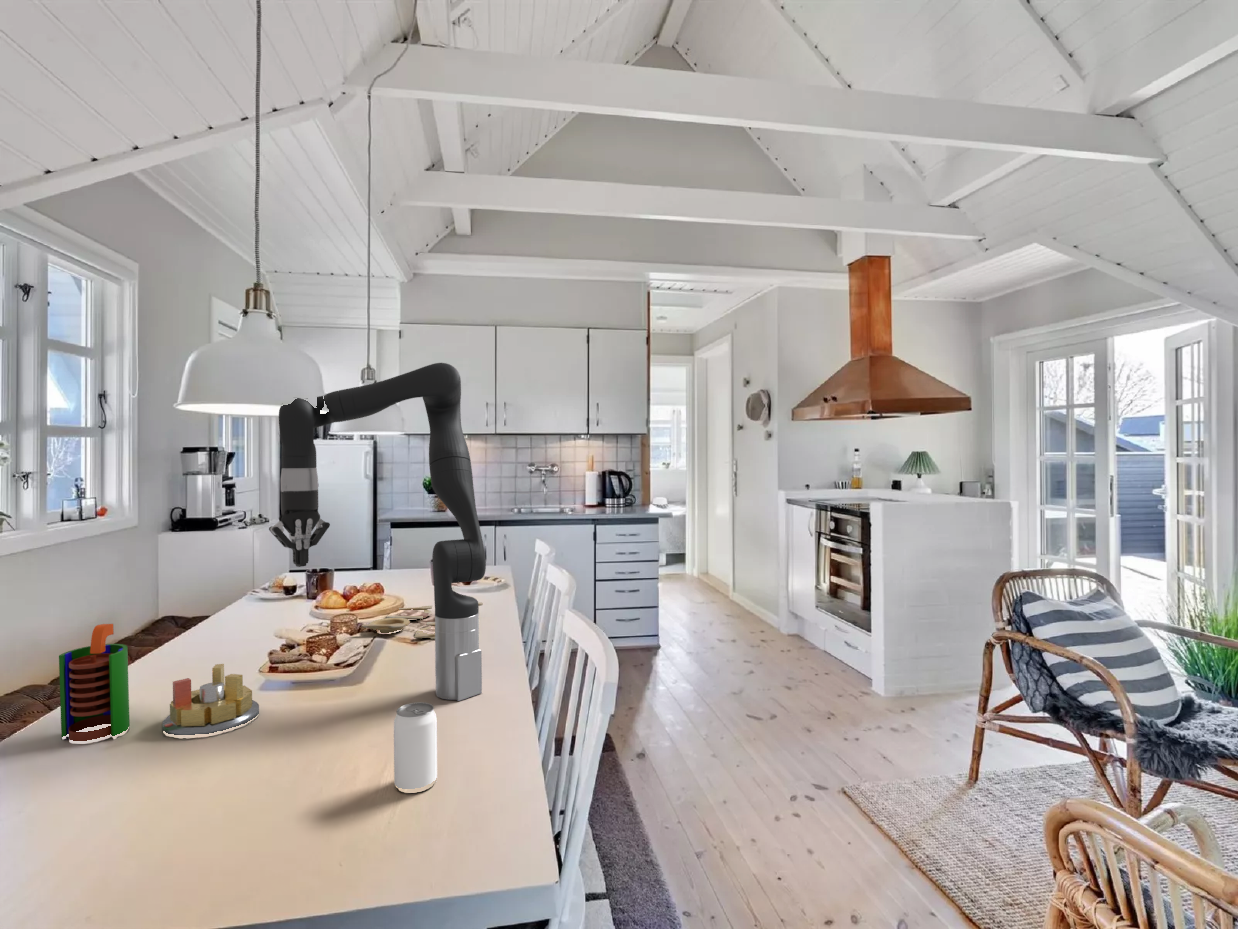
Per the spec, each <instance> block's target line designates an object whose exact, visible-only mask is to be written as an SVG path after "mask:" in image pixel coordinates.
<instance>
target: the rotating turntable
mask: <svg viewBox="0 0 1238 929" xmlns="http://www.w3.org/2000/svg"><path fill="white" fill-rule="evenodd" d="M224 685H225V682H224V683H222V682H213V683H212V682H208V683H205V684H203V685H201V686H199V689H200V704H210V703H214V702H218V701H222V700H224ZM258 714H259V715H260V705H259V703H258V702H257V701H256V700H253V699H252V707H251V708H250V709H249V710H248V711H246V712H245V713H244V714H242V715H239V716H236V718H233V719H230V720H226V721H223V722H219V723H215V724H210V723H207V724H206V725H205V726H181V724H180V725H176V724H175V723H173V722H172V721H171V720H170V714H169V715H167V716H166V717H165V718H164V719H163V721H162V732H163V731H165V732H166V733H168V734H174V735H195V734H209V733H214V732H217V731H223V730H226V729H229V728H232V727H236V726H239V725H241V724H245V723H247V722H248V721H250V720H252V719H253V718H255V717H256V716H257V715H258Z"/></svg>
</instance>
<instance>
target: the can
mask: <svg viewBox="0 0 1238 929" xmlns="http://www.w3.org/2000/svg"><path fill="white" fill-rule="evenodd" d="M434 709H435V708H434V705H433V704H431V703H429V702H425V701H424V702H423V701H421V702H420V701H419V702H417V701H416V702H411V703H407V704H406V703H405V704H404V705H401V706H400V707H398V708H397V710H396V716H395V718H394V719H393V720H394V721H393V768H394V769H393V772H394V776H393V778H394V779H393V780H394V786H395V785H396V786H397V787H398V788H402V789H415V788H421V787H424V786H426V785H428V784H431V783H432V782H433V781H435V780H436V778H437V779H438V728H437V727H438V724H437V723H438V722H437V720H438V719H437V714H436V712H435V710H434Z"/></svg>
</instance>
